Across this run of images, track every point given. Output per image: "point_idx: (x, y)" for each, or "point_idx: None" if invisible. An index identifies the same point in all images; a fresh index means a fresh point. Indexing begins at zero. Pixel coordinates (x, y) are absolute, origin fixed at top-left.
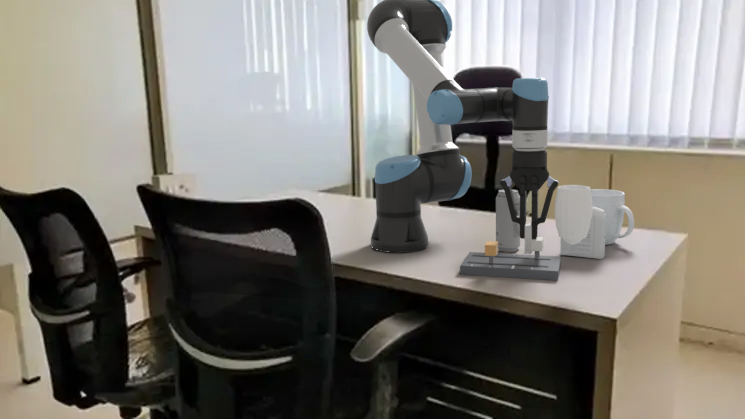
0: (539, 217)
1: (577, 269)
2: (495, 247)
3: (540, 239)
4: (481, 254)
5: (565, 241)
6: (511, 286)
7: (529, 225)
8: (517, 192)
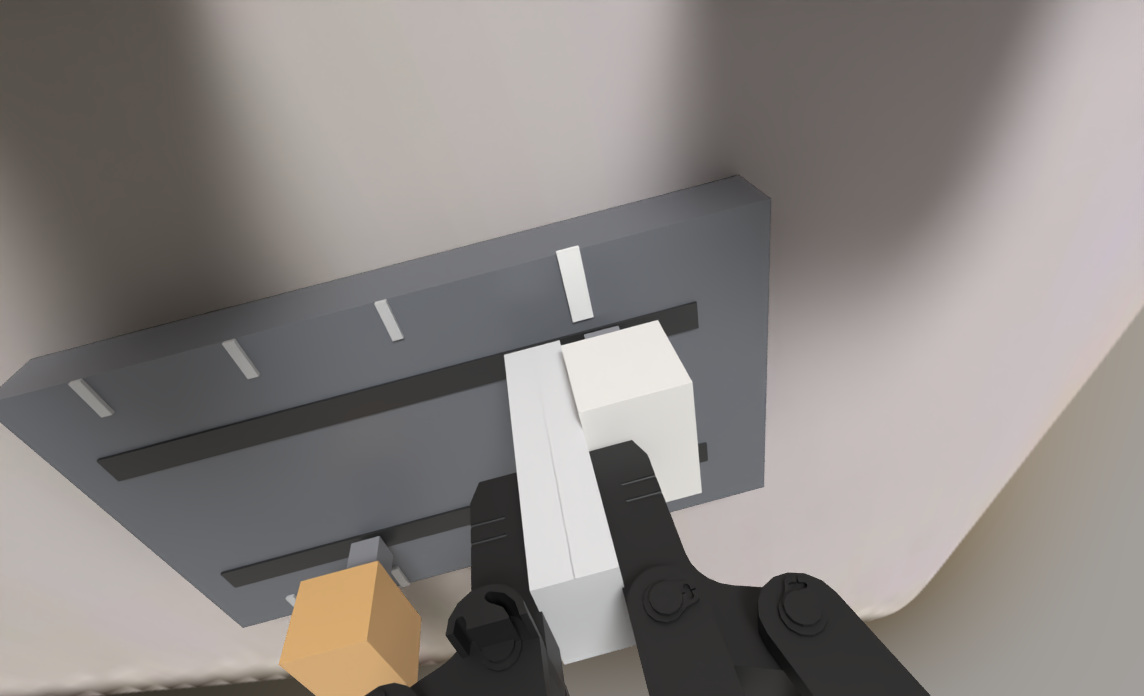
0: (761, 686)
1: (849, 229)
2: (415, 678)
3: (679, 464)
4: (142, 420)
5: None
6: None
7: (610, 638)
8: None
